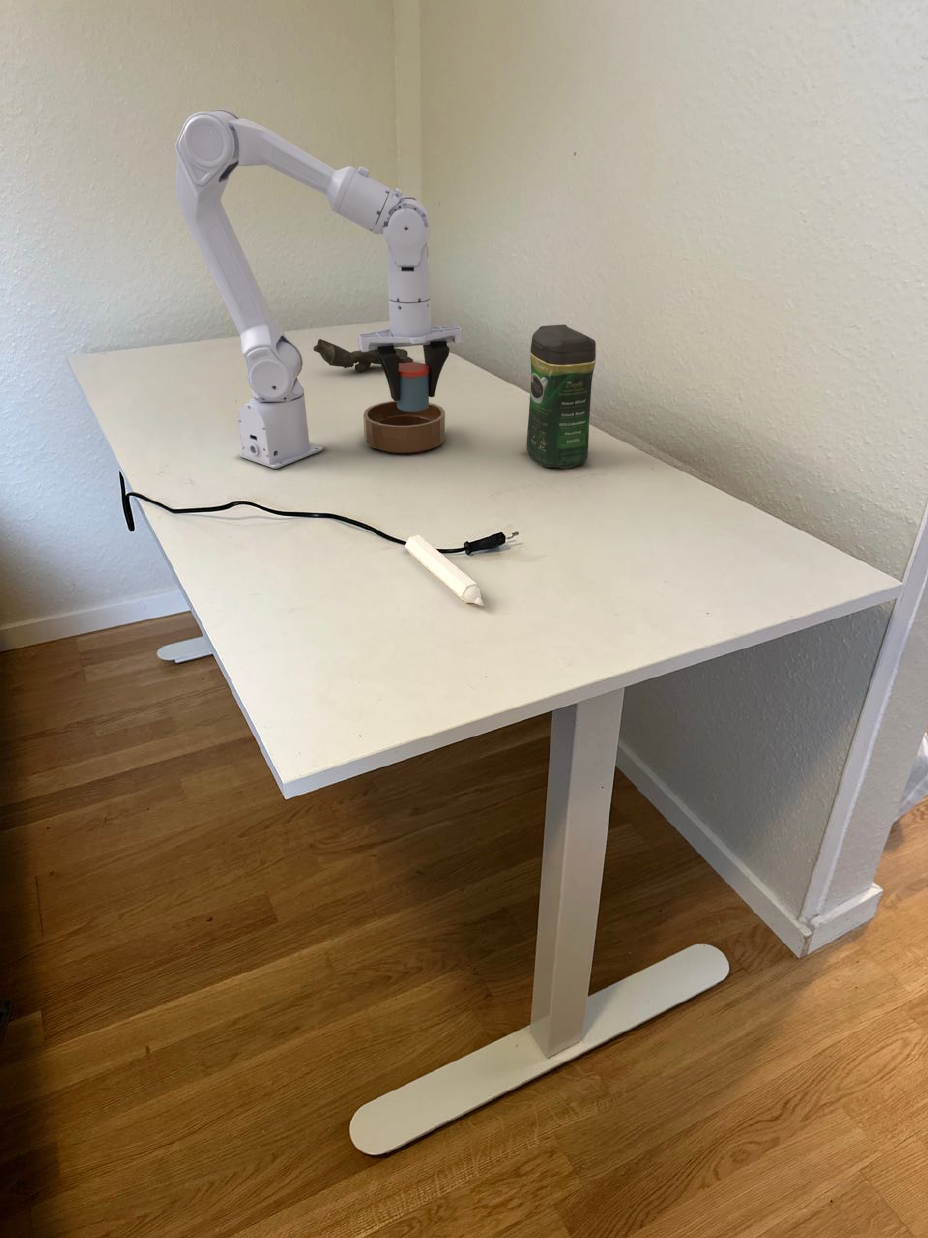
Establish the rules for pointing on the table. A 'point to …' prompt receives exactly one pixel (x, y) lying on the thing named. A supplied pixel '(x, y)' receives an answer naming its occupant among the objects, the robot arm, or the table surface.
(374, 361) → the brown long irregular piece
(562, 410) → the coffee jar
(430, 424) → the bowl
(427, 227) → the robot arm
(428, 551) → the marker
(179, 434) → the table surface
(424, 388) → the container
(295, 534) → the table surface
